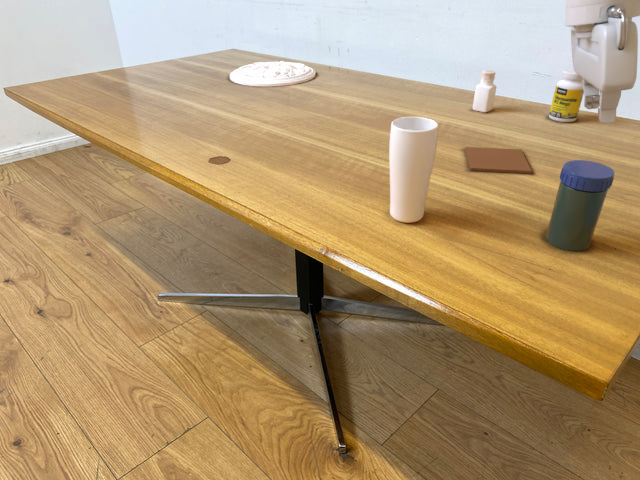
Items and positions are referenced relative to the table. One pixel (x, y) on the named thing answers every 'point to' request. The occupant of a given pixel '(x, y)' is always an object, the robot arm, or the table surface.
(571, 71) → the pill bottle
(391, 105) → the table surface
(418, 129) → the drinking glass
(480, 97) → the white corked bottle
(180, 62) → the table surface
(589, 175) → the lid
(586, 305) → the table surface
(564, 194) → the jar
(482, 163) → the coaster
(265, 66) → the ceiling medallion
